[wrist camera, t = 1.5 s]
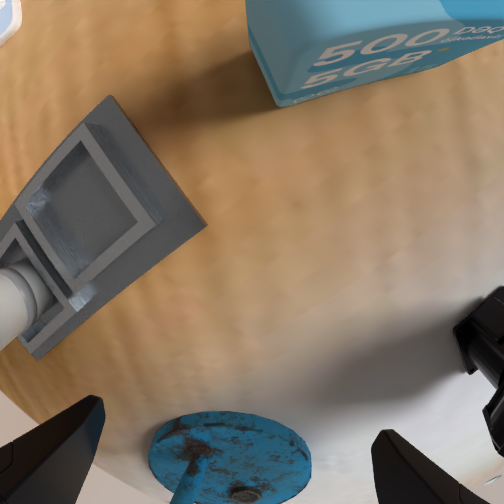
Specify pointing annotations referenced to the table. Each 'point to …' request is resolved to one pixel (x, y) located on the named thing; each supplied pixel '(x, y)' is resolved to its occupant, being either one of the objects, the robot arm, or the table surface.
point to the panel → (94, 221)
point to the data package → (361, 40)
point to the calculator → (9, 19)
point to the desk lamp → (229, 459)
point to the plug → (21, 299)
